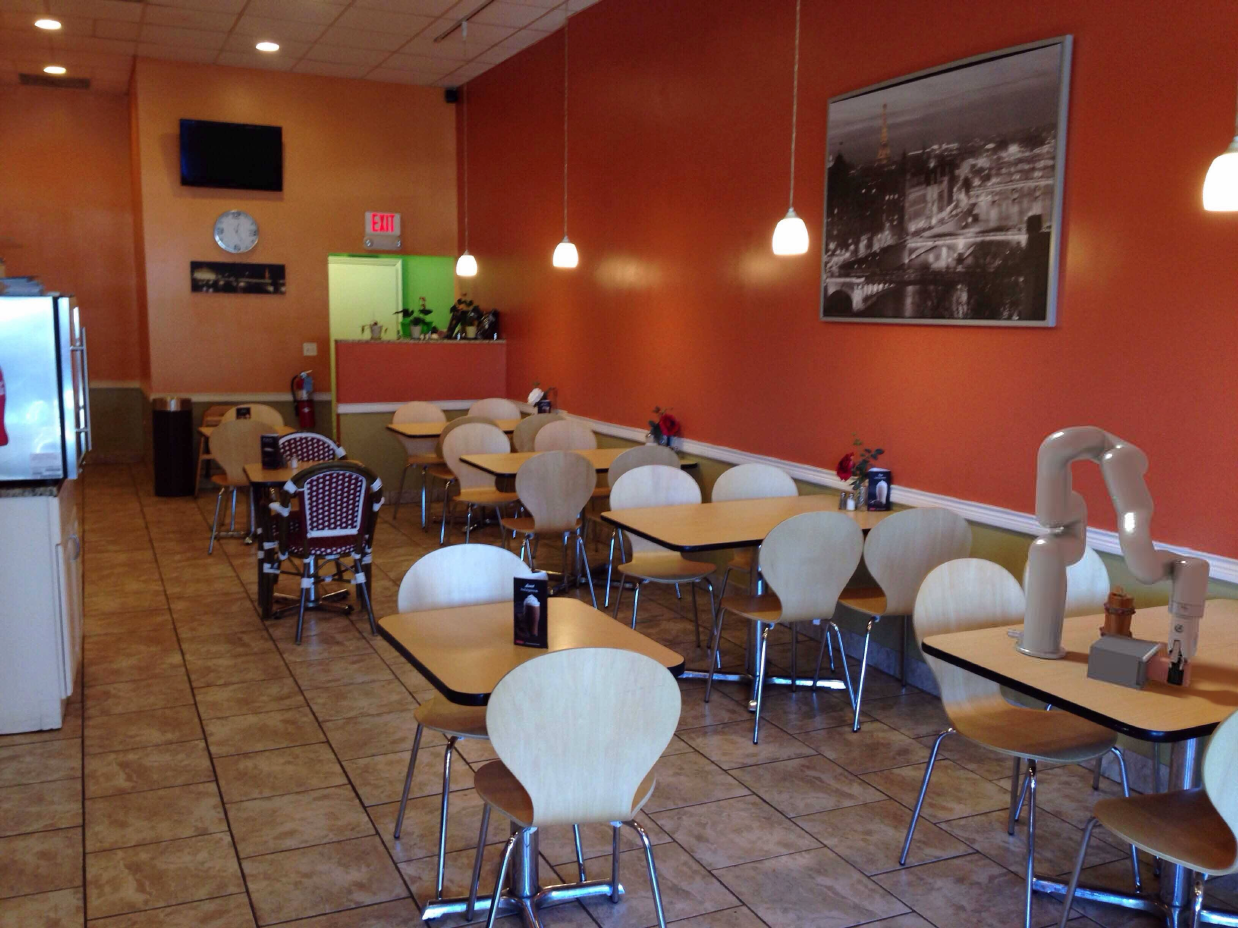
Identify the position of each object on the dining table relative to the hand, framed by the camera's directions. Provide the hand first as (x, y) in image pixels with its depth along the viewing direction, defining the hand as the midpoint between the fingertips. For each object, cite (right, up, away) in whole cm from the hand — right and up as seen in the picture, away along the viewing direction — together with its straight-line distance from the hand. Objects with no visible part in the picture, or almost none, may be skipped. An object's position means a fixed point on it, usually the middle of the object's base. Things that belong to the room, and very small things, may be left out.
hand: (1176, 681), depth 250 cm
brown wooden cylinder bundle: (+2, +3, +35) cm, 35 cm away
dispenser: (-9, 0, +8) cm, 12 cm away
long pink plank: (-5, +1, +4) cm, 7 cm away
